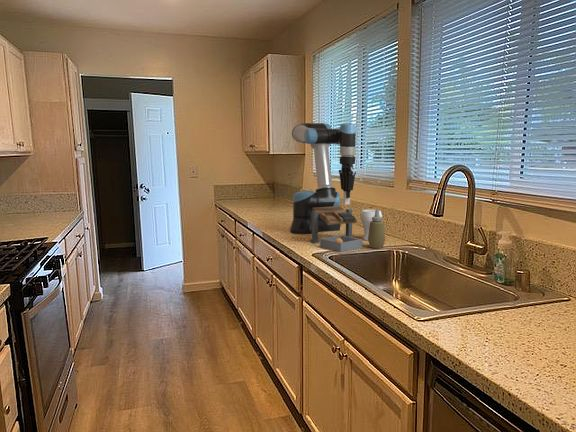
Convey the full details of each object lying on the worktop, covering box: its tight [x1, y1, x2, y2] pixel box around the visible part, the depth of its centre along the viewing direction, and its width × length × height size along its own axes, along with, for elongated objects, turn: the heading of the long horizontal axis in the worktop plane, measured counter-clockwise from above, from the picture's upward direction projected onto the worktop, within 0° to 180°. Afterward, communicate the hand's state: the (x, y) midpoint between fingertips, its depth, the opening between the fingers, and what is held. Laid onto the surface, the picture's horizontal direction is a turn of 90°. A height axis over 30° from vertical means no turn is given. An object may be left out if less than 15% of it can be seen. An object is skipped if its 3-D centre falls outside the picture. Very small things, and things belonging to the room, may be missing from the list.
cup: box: [360, 209, 383, 242], centre depth 215 cm, size 11×11×15 cm
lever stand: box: [309, 208, 356, 244], centre depth 214 cm, size 5×24×16 cm, turn 112°
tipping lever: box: [310, 205, 358, 233], centre depth 213 cm, size 18×16×14 cm
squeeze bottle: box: [368, 208, 386, 249], centre depth 197 cm, size 8×8×18 cm
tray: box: [319, 234, 363, 253], centre depth 198 cm, size 14×14×4 cm
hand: (346, 204), depth 207 cm, fingers closed
